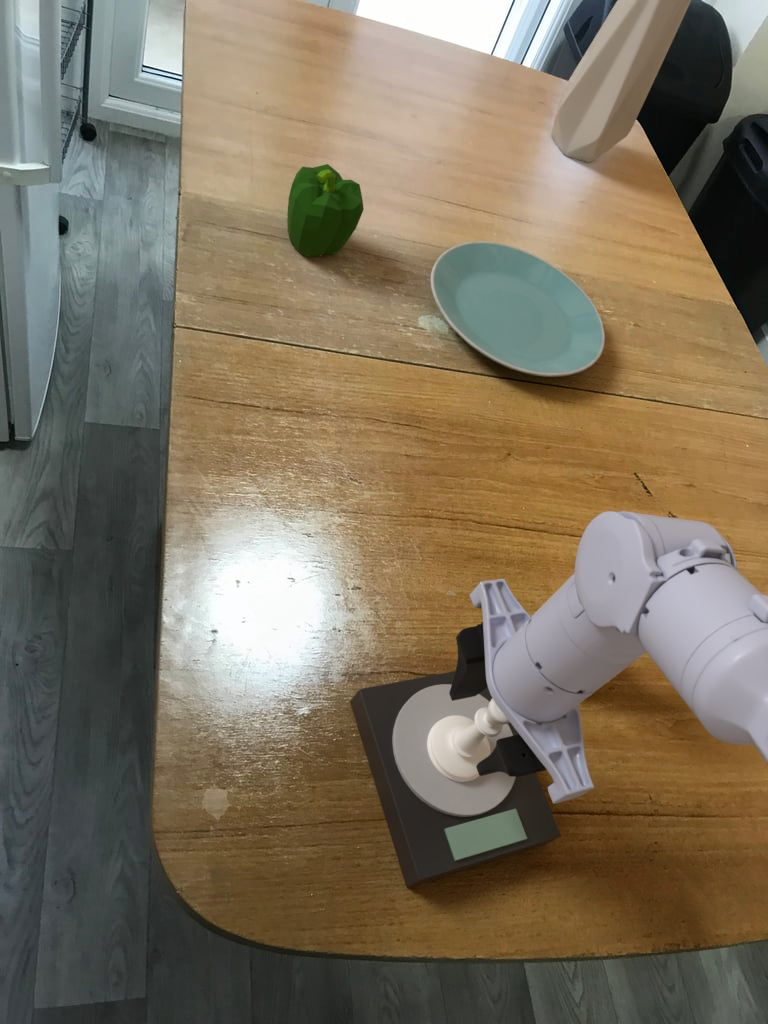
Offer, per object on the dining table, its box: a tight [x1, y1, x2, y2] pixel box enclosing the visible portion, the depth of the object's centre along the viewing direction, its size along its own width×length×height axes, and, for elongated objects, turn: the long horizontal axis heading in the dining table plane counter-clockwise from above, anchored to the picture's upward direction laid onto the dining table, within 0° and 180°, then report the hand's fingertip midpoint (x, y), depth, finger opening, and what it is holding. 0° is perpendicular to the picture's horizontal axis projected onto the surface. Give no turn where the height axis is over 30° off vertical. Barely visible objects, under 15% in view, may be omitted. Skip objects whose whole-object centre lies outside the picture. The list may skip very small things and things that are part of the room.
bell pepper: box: [286, 163, 364, 258], centre depth 92 cm, size 8×8×10 cm
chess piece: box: [427, 698, 510, 782], centre depth 59 cm, size 5×5×10 cm
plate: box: [429, 240, 606, 378], centre depth 99 cm, size 22×22×3 cm
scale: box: [349, 670, 562, 889], centre depth 64 cm, size 14×12×3 cm
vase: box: [550, 0, 692, 164], centre depth 118 cm, size 12×12×33 cm
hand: (475, 730), depth 60 cm, fingers open, 5 cm apart
